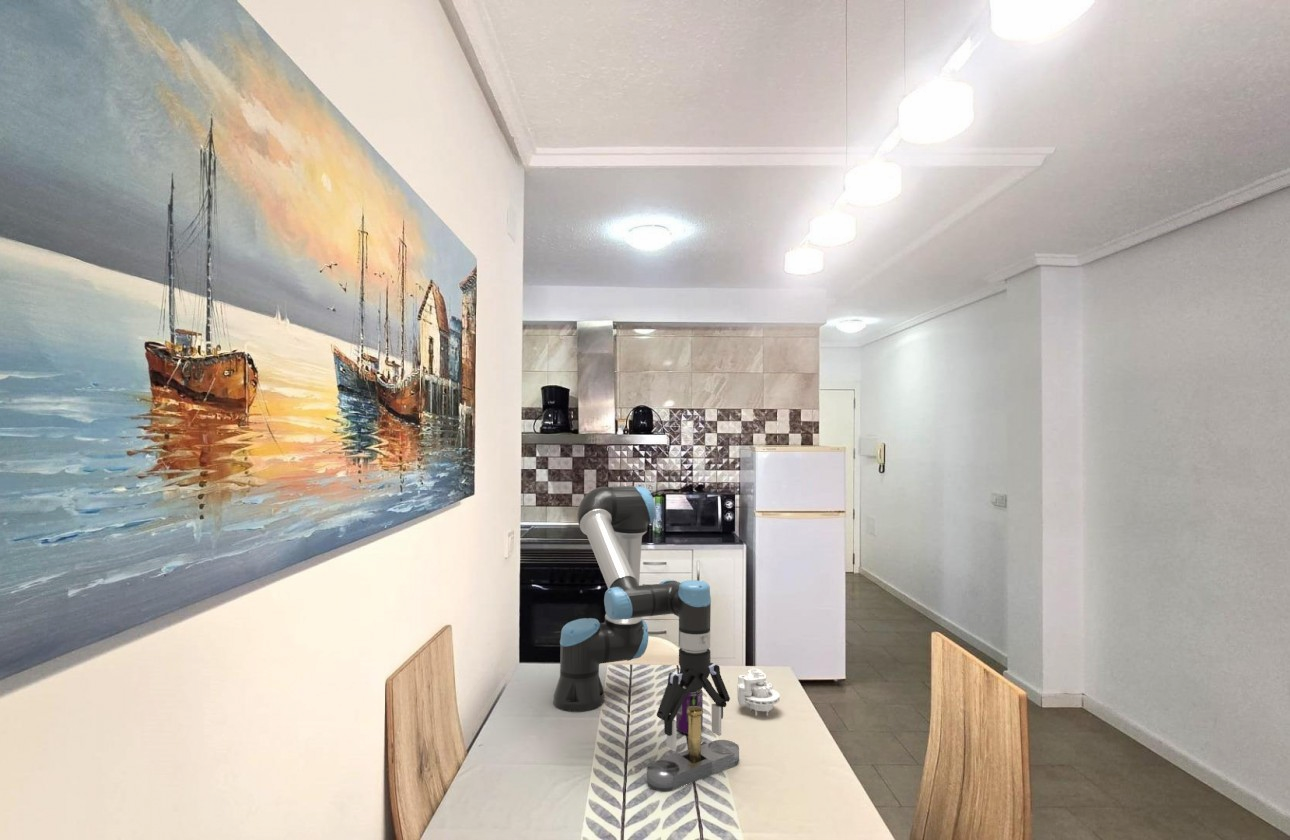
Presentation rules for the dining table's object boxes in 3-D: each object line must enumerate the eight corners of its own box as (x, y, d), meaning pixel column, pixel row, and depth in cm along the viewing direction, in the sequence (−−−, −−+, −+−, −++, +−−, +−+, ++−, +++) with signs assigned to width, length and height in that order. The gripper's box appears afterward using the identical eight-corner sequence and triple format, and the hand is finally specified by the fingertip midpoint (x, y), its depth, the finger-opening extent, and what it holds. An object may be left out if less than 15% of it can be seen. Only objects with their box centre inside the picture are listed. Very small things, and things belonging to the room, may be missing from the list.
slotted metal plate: (640, 779, 134) (640, 766, 134) (724, 749, 148) (724, 737, 148) (659, 795, 128) (659, 780, 128) (745, 761, 142) (745, 749, 142)
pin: (683, 769, 138) (683, 708, 139) (695, 765, 140) (695, 704, 141) (693, 776, 135) (693, 714, 136) (706, 772, 137) (706, 710, 138)
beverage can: (701, 737, 154) (701, 690, 155) (674, 734, 156) (674, 688, 157) (703, 725, 161) (703, 680, 162) (678, 723, 163) (678, 678, 164)
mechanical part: (777, 723, 163) (777, 679, 164) (734, 716, 167) (734, 674, 168) (781, 707, 174) (781, 666, 175) (741, 701, 178) (740, 661, 178)
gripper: (661, 662, 130) (660, 762, 128) (744, 643, 144) (744, 733, 142) (642, 653, 136) (641, 748, 134) (723, 635, 150) (723, 721, 148)
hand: (694, 741), depth 138 cm, fingers open, 13 cm apart
